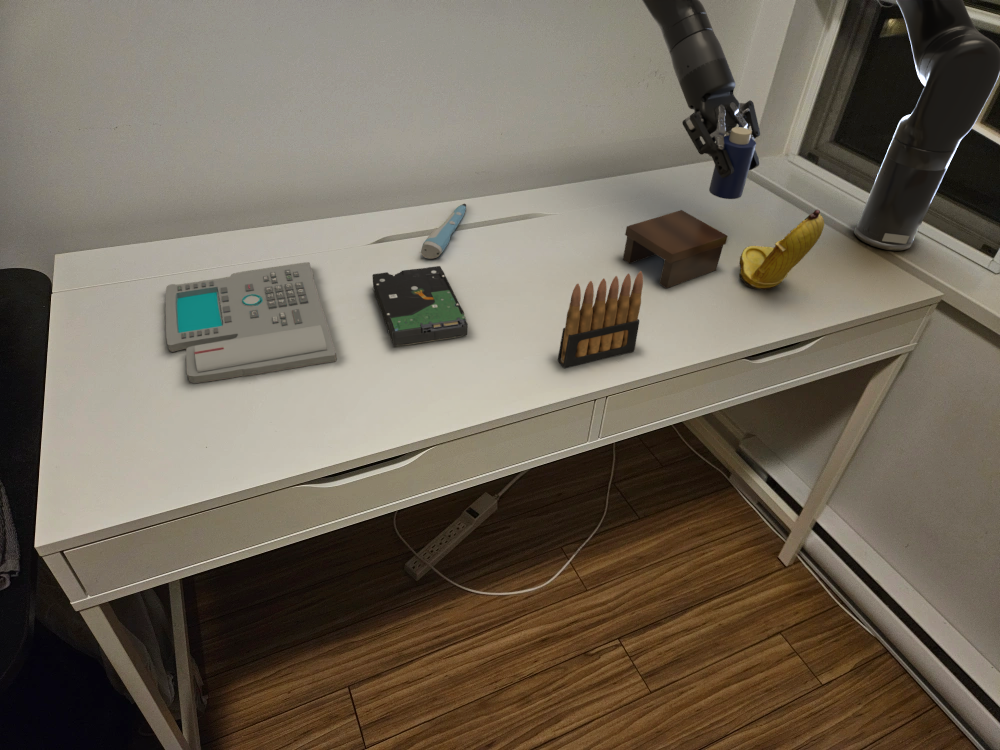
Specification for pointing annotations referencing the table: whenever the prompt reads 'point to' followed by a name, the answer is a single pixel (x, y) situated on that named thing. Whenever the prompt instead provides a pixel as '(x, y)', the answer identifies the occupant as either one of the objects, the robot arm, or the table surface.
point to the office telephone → (248, 323)
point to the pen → (442, 234)
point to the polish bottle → (734, 164)
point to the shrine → (779, 254)
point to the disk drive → (419, 306)
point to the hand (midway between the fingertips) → (740, 171)
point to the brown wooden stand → (676, 246)
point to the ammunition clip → (601, 322)
